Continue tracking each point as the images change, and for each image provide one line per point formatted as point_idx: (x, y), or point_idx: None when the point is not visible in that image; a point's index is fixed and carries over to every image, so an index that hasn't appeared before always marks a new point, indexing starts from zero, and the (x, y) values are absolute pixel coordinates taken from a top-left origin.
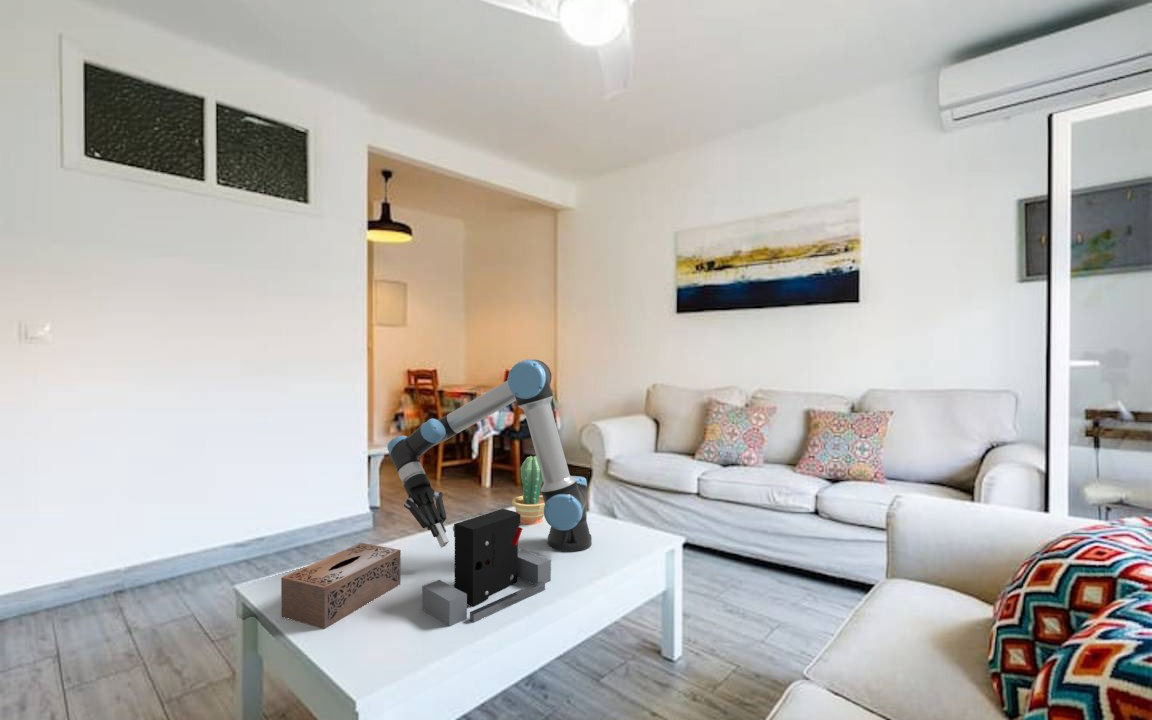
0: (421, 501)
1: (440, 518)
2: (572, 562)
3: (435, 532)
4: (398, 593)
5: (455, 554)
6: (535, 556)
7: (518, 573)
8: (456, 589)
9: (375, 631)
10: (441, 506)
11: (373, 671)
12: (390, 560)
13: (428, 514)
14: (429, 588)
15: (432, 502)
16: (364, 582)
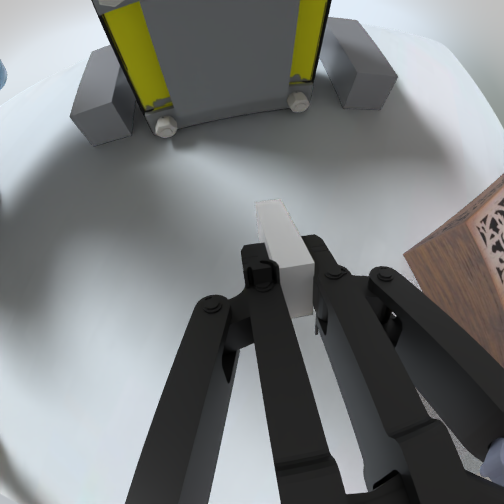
0: (451, 468)
1: (256, 299)
2: (26, 133)
3: (318, 242)
4: (415, 205)
5: (325, 17)
6: (91, 71)
7: (130, 105)
8: (334, 32)
9: (449, 110)
10: (187, 411)
11: (439, 56)
12: (477, 207)
13: (373, 330)
14: (385, 61)
15: (305, 467)
16: (501, 181)
